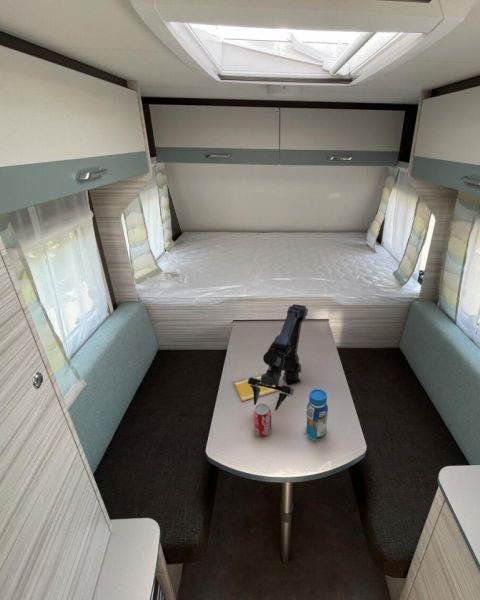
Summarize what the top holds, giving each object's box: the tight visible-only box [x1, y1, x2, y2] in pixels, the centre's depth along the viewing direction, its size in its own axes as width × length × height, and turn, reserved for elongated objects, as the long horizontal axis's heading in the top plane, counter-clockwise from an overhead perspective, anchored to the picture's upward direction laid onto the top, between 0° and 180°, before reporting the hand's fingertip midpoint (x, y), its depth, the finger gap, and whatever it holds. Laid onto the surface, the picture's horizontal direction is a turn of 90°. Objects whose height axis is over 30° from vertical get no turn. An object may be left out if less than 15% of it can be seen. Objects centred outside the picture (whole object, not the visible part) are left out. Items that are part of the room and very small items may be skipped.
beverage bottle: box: [305, 388, 329, 441], centre depth 128 cm, size 8×8×20 cm
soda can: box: [253, 403, 272, 438], centre depth 131 cm, size 7×7×12 cm
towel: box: [233, 375, 281, 402], centre depth 159 cm, size 20×14×1 cm
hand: (265, 407), depth 131 cm, fingers open, 9 cm apart
